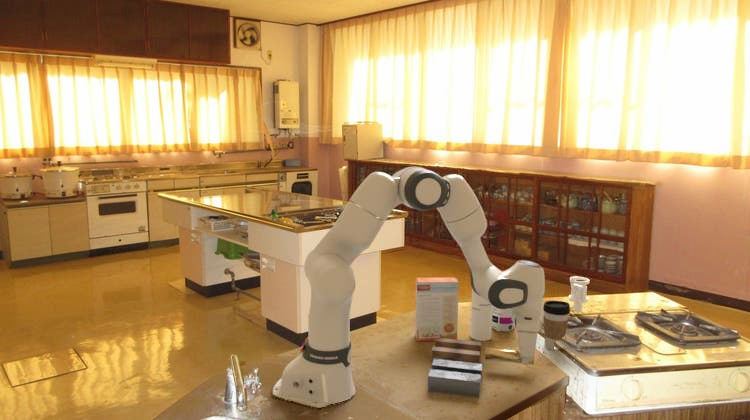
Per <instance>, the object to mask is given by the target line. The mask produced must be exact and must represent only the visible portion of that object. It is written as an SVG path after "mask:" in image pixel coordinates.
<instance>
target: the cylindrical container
mask: <svg viewBox="0 0 750 420" xmlns="http://www.w3.org/2000/svg"><path fill="white" fill-rule="evenodd" d="M470 311H471V313H470V333H469V335H470V338H471V339H472V338H473V339H472V340H474V339H475V340H474V341H478V340H479V341H478V342H486V341H485V340H487V341H490V340H491V339H492V336H493V335H492V333H493V331H492V329H493V328H492V313H493V306H492V305H491V304H490V303H489V302H487V301H486V300H485V299H484V298H483V297H481V296H479V295H478V294H476V293H475V292H474V290H473V288H472V287H471V307H470Z"/></svg>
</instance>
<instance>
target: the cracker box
mask: <svg viewBox="0 0 750 420" xmlns="http://www.w3.org/2000/svg"><path fill="white" fill-rule="evenodd" d="M459 283H460V281H458V279H457V278H456V277H451V276H449V277H447V276H445V277H415V297H414V298H415V303H414V305H415V309H414V311H415V312H414V313H415V318H414V321H415V322H414V323H415V324H414V333H415V334H414V336H415V339H416V342H435V340H436V337H437V338H447V339H457V340H458V322H459V321H458V317H459V315H458V314H459Z"/></svg>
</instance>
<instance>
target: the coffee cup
mask: <svg viewBox="0 0 750 420" xmlns="http://www.w3.org/2000/svg"><path fill="white" fill-rule="evenodd" d="M543 305H544V309H543V328H544V331H543V333H544V346H545V348H547V349H549V350H553V351H555V350H554V342H556V341H559V340H561V339H562V337H564V336H565V335H567V329H568V324H569V315H570V314H571V309H570V308H571V305H570V303H569V302H567V301H562V300H560V301H559V300H547V301H545V302H543ZM565 337H566V336H565Z"/></svg>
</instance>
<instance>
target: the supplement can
mask: <svg viewBox="0 0 750 420" xmlns="http://www.w3.org/2000/svg"><path fill="white" fill-rule="evenodd" d="M514 328H515V324H514V322H513V321H512V308H508V309H498V308H496V307H494V306H493V313H492V329H493V330H494V329H495V330H494V331H496V330H498V331H497V332H500V331H509V332H511V331H513V329H514ZM510 330H511V331H510Z"/></svg>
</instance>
